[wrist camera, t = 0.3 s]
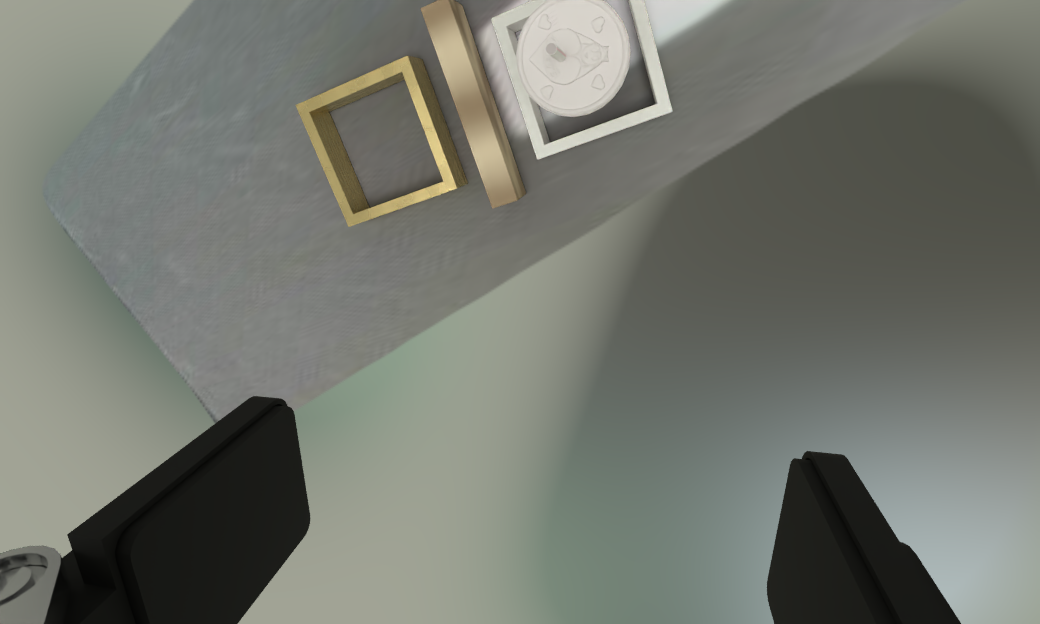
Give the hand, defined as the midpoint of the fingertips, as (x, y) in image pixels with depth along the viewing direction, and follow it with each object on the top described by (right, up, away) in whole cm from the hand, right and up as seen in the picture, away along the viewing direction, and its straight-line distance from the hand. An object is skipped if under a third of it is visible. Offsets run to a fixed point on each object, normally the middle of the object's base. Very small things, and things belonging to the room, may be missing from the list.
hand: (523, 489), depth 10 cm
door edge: (-3, +19, +31) cm, 37 cm away
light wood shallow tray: (-10, +17, +34) cm, 39 cm away
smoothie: (+5, +21, +29) cm, 36 cm away
